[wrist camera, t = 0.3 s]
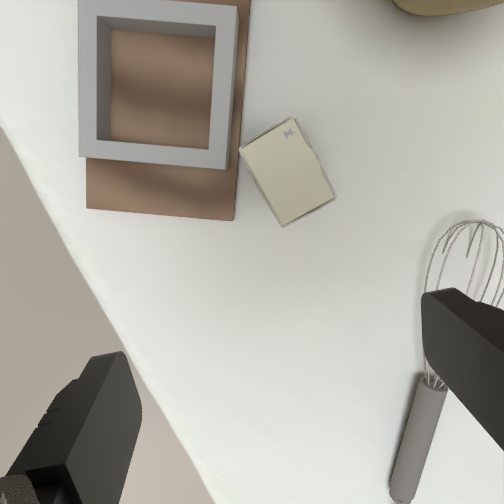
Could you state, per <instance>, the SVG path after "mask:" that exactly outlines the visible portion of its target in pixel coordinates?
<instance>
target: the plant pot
mask: <svg viewBox="0 0 504 504" xmlns="http://www.w3.org/2000/svg"><path fill="white" fill-rule="evenodd" d="M393 2H394V3H395V4H396V5H397V6H398V7H399V8H401V9H402V10H404V11H406V12H408V13H411V14H415V15H425V16H436V15H450V14H457V13H463V12H468V11H473V10H478V9H482V8H486V7H490V6H494V5H497V4H500V3H504V0H393Z"/></svg>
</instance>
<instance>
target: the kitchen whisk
mask: <svg viewBox="0 0 504 504" xmlns="http://www.w3.org/2000/svg"><path fill="white" fill-rule="evenodd" d="M464 222H466V223H464ZM462 223H464V224H462ZM467 223H469V224H467ZM471 223H480V224H478V226H477V228H476V230H475V232H474V235H473V237H472V240H471V243H470V246H469V249H468V252H467V256H466V258H467V257H468V254H469V251H470V248H471V245H472V242H473V239H474V236H475V234H476V231H477V229H478V227H479V226H480V225H481V226H482V233H481V240H480V245H479V249H478V253H477V257H476V261H475V265H474V268H473V272H472V275H471V279H470V282H469V285H468V289H467V292H466V296H467V295H468V291H469V288H470V285H471V281H472V278H473V275H474V271H475V268H476V264H477V260H478V257H479V253H480V248H481V244H482V239H483V231H484V227H483V224H485V225H487V226H489V227H490V228H492V229H494V230H495V232H496V234H497V249H496V254H495V259H494V264H493V267H492V270H491V273H490V276H489V279H488V282H487V285H486V287H485V290H484V292H483V295H482V297H481V300H480V302H482V299H483V297H484V294H485V292H486V289H487V287H488V284H489V282H490V278H491V275H492V272H493V269H494V266H495V262H496V257H497V252H498V236H499V238H500V239H501V241H502V246H503V256H504V241H503V239H502V238H501V236H500V234H499V233H498V231H497V229H496V228H495V227H497V228H499V229H500V230H501V231H502V233H503V234H504V231H503V230H502V229H501V228H500V227H498V226H496V225H494V224H493V223H490V222H488V221H485V220H478V221H463V222H460V223H458V224H456V225H454V226H452V227H450V228H449V229H448V230H447V231H446V232H445V234H444V235H443V236H442V237H441V238H440V239H439V241H438V243H437V245H436V247H435V249H434V251H433V254H432V256H431V259H430V263H429V267H428V270H427V274H426V281H425V288H424V293H425V292H426V285H427V278H428V273H429V269H430V265H431V261H432V258H433V255H434V253H435V251H436V249H437V246H438V244H439V242H440V240H441V239H442V238H443V237H444V236H445V235H446V234H447V232H448V231H449V230H450V229H451V228H453V227H455V226H458V225H460V224H462V225H460V226H459V227H457V228H456V229H455V230H454V232H453V233H452V234H451V236H450V237H449V238H448V240H447V242H446V245H445V247H444V249H443V253H444V251H445V248H446V246H447V244H448V241H449V239H450V238H451V237H452V235H453V234H454V233H455V231H456V230H457V229H458V228H460V227H461V226H463V225H465V224H467V225H466V226H465V227H464V228H463V229H461V230H460V231H459V232H458V234H457V235H456V237H455V239H454V240H453V242H452V243H451V245H450V247H449V249H448V252H447V254H446V257H445V259H444V262H443V265H442V268H441V272H440V275H439V279H438V283H437V288H436V290H438V286H439V281H440V278H441V274H442V271H443V267H444V264H445V261H446V259H447V256H448V254H449V251H450V249H451V246H452V245H453V243H454V242H455V240H456V238H457V237H458V235H459V234H460V232H461V231H462V230H464V229H465V228H466V227H467V226H468V225H470V224H471ZM488 224H489V225H488ZM490 225H491V226H490ZM492 226H493V227H492ZM503 272H504V260H503V266H502V273H501V278H500V281H499V284H498V287H497V290H496V293H495V296H494V299H493V301H492V303H491V306H492V305H493V303H494V301H495V299H496V296H497V293H498V290H499V287H500V284H501V281H502V278H503ZM503 294H504V289H503V292H502V294H501V296H500V298H499V300H498V303H497V305H496V307H497V306H498V304H499V302H500V300H501V298H502V296H503ZM423 357H424V369H425V376H422V377H421V378H420V380H419V384H418V387H417V391H416V394H415V398H414V401H413V405H412V408H411V412H410V415H409V418H408V422H407V425H406V429H405V432H404V436H403V439H402V443H401V446H400V450H399V453H398V457H397V460H396V464H395V467H394V471H393V474H392V478H391V481H390V491H389V494H390V497H391V498H392V499H393V500H394V501H395V502H396V504H410V503H411V500H412V499H414V497H415V493H416V490H417V487H418V484H419V481H420V477H421V474H422V471H423V468H424V465H425V461H426V458H427V455H428V452H429V449H430V446H431V442H432V439H433V436H434V433H435V430H436V426H437V423H438V420H439V417H440V414H441V410H442V407H443V404H444V401H445V398H446V394H447V391H448V386H447V385H446V384H445V383H444V382H443V381H441V380H442V379H440V380H439V379H438V377H439V376H437V378H435V376H436V372H435V374H434V377H431V376H429V366H430V365H429V363H428V376H427V375H426V365H425V353H424V349H423Z"/></svg>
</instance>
